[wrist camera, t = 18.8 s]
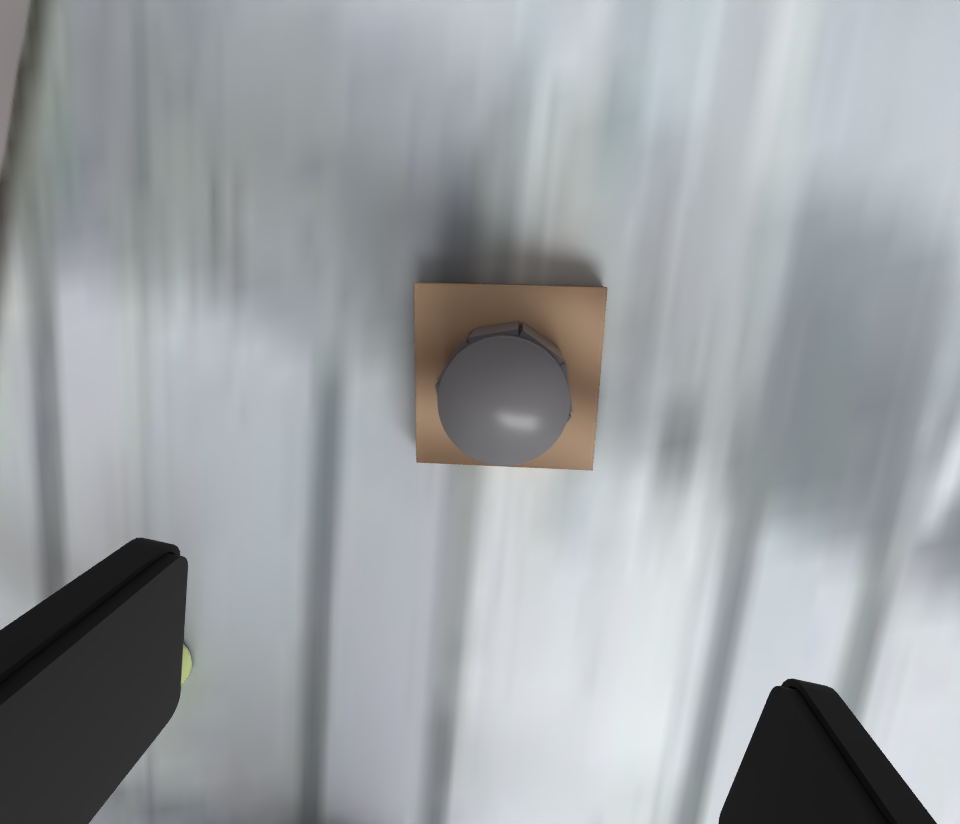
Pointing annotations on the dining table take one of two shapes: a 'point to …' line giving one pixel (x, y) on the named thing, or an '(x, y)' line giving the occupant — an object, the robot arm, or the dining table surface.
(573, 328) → the stud block
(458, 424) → the cap
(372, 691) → the dining table surface
